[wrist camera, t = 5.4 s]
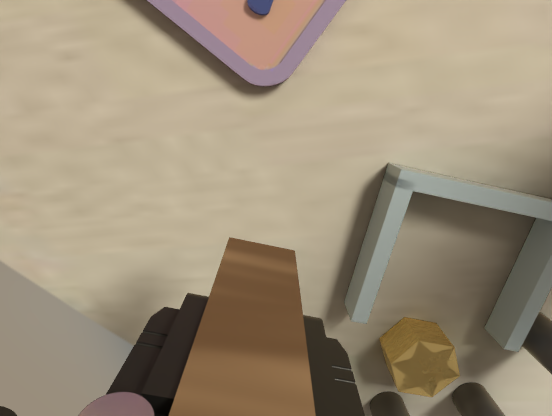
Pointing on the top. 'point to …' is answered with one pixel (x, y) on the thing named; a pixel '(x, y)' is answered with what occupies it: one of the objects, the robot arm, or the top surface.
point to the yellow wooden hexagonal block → (419, 357)
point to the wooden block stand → (249, 340)
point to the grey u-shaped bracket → (403, 181)
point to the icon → (254, 32)
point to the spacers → (472, 396)
